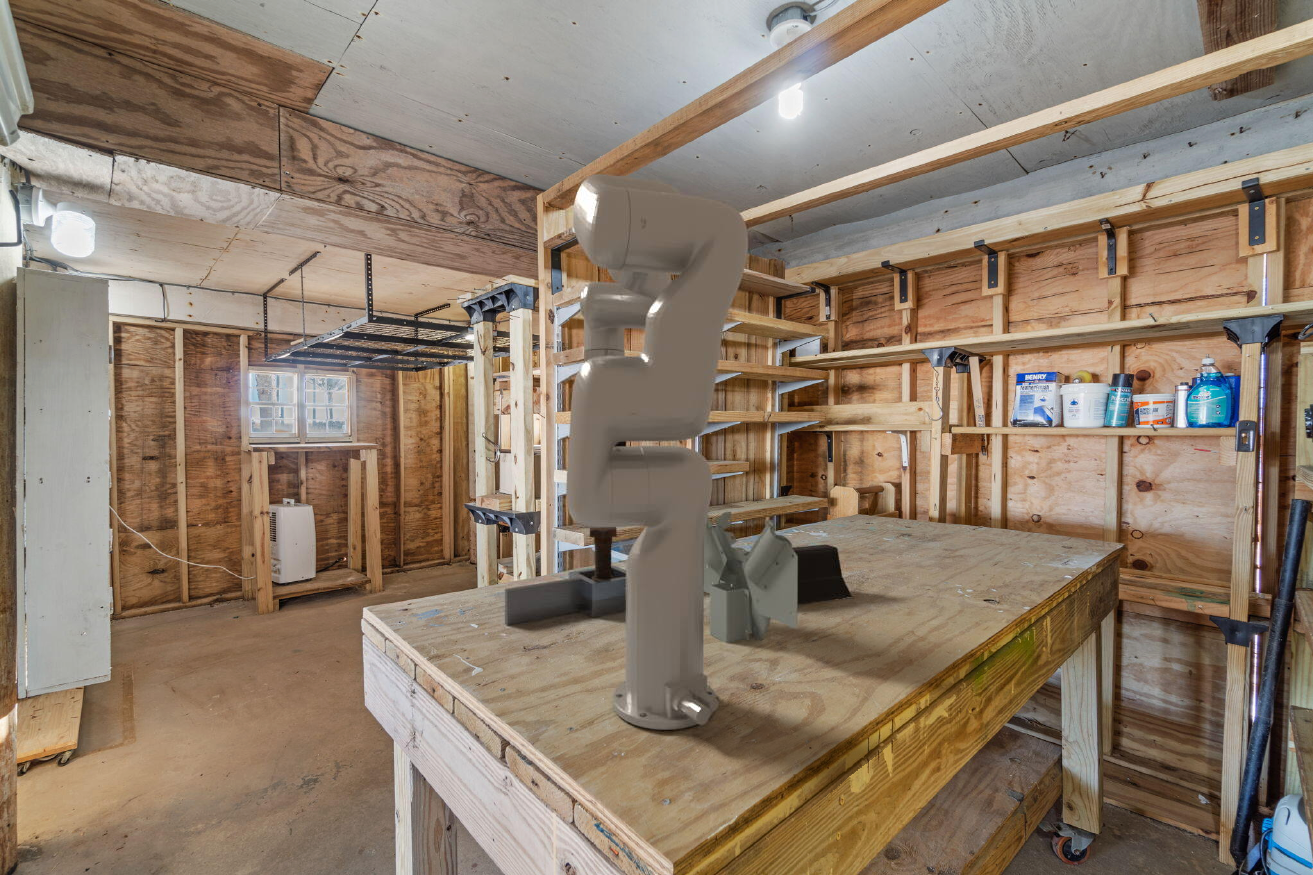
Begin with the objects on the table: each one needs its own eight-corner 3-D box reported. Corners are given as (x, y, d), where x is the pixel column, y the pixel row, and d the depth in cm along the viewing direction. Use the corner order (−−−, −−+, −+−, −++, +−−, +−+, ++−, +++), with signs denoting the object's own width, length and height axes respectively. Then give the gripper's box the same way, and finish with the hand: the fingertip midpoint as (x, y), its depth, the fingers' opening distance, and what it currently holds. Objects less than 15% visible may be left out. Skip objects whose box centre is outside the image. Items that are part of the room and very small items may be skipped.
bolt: (582, 607, 106) (583, 528, 105) (596, 600, 110) (596, 524, 110) (609, 611, 103) (610, 530, 103) (622, 603, 108) (622, 526, 108)
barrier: (751, 613, 104) (752, 559, 103) (728, 599, 112) (728, 549, 112) (853, 598, 112) (853, 549, 112) (824, 587, 121) (825, 541, 120)
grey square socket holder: (698, 595, 113) (698, 566, 113) (516, 633, 92) (516, 597, 92) (670, 584, 122) (670, 556, 121) (496, 616, 101) (496, 583, 100)
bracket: (814, 658, 82) (815, 523, 82) (780, 669, 79) (781, 527, 78) (701, 607, 106) (701, 502, 105) (670, 614, 102) (670, 504, 101)
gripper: (646, 358, 99) (646, 455, 98) (600, 369, 113) (600, 453, 113) (608, 354, 94) (609, 456, 94) (566, 366, 109) (566, 454, 109)
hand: (604, 454), depth 104 cm, fingers open, 9 cm apart
